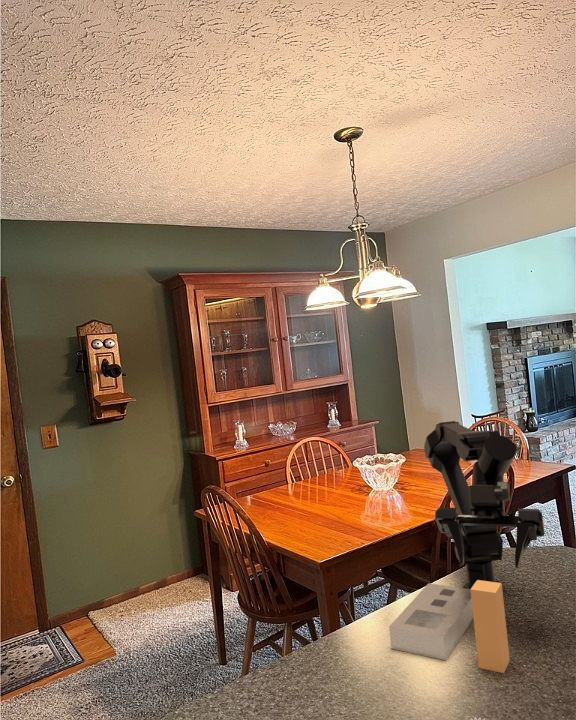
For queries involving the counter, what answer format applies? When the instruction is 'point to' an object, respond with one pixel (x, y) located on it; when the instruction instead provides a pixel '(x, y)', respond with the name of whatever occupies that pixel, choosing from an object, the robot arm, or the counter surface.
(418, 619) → the white peg board
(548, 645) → the counter surface
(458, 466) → the robot arm
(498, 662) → the orange post
